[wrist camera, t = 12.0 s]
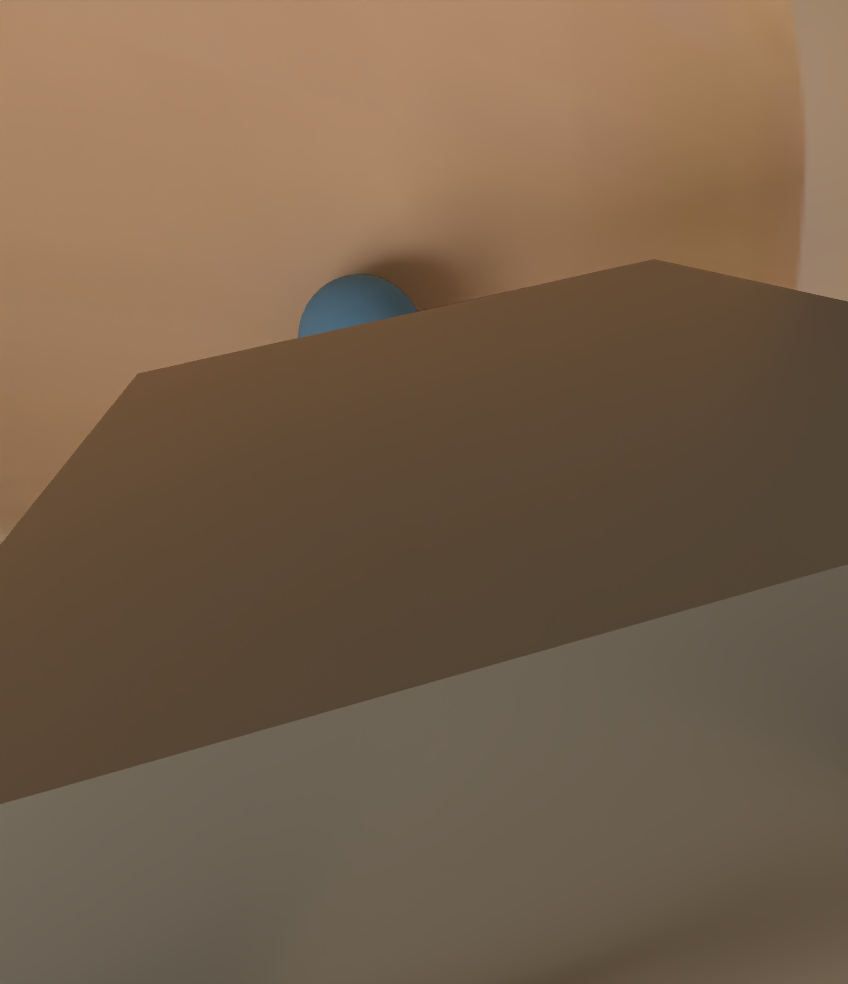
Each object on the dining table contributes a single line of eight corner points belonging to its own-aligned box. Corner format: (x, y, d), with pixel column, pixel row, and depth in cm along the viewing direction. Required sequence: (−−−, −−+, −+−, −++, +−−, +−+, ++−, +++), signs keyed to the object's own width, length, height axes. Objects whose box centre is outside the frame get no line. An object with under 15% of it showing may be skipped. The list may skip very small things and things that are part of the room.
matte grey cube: (641, 630, 16) (935, 1010, 9) (293, 728, 16) (294, 1245, 8) (653, 259, 11) (1371, 415, 4) (137, 373, 10) (-268, 882, 3)
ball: (414, 240, 21) (406, 293, 26) (276, 264, 20) (295, 313, 25) (443, 374, 21) (430, 401, 26) (306, 401, 20) (319, 424, 25)
